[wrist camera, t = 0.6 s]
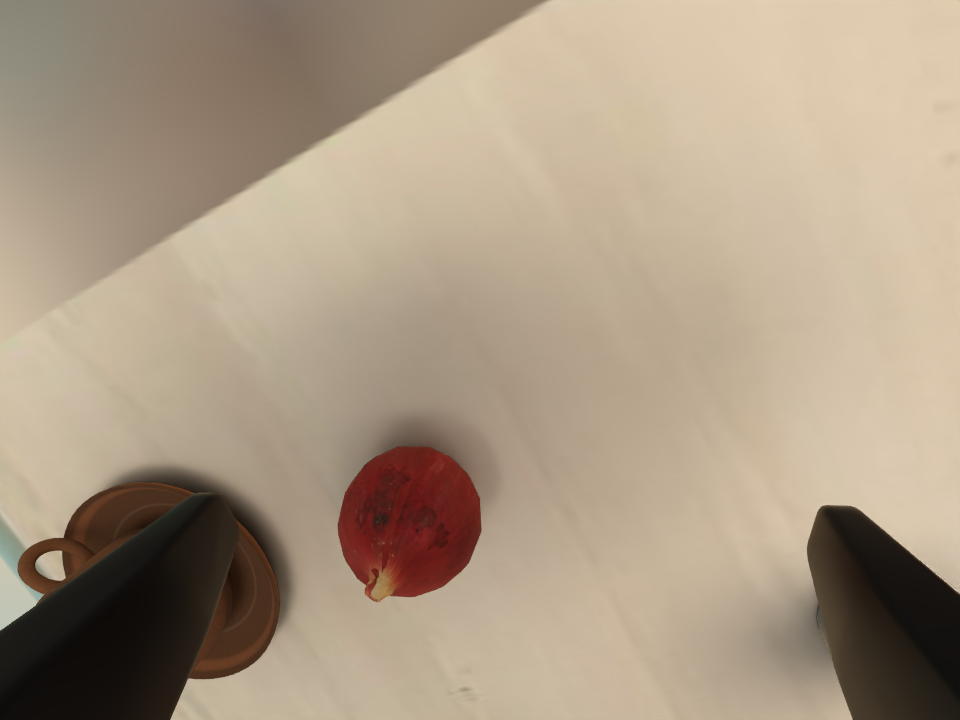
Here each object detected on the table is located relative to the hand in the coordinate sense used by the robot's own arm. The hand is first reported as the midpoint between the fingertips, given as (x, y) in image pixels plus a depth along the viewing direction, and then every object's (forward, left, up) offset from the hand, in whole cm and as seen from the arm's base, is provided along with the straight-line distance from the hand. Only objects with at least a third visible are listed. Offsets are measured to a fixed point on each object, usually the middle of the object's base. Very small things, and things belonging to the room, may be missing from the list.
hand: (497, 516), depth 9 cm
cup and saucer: (-23, +7, -16) cm, 29 cm away
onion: (-10, 0, -16) cm, 19 cm away
